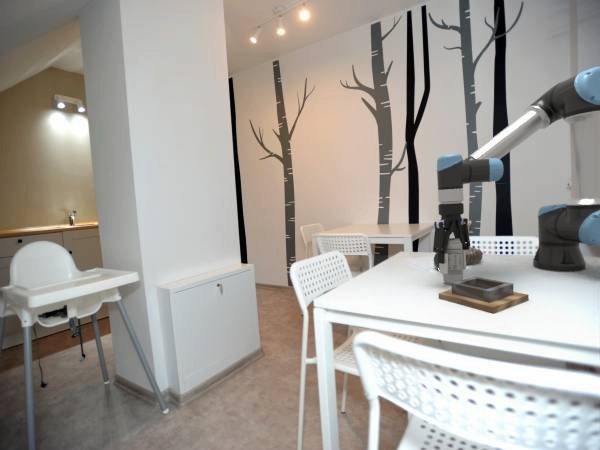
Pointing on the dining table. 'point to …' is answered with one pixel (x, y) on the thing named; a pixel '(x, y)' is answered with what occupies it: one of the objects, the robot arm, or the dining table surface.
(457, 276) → the energy drink can
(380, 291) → the dining table surface
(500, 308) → the board
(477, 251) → the seashell
